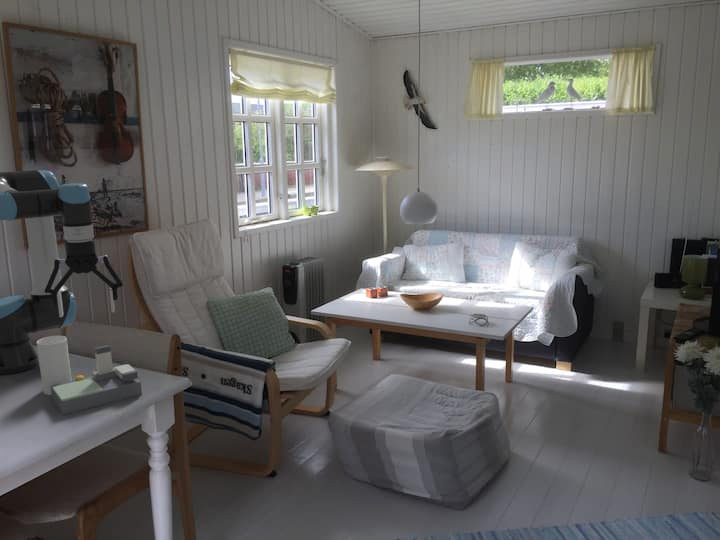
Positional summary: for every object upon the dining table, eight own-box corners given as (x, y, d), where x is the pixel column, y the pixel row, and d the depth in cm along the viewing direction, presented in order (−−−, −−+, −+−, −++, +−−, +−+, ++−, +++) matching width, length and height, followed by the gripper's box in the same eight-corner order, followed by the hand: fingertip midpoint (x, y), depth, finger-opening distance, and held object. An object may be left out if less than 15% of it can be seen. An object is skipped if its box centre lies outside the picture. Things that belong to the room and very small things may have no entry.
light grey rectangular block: (97, 372, 191) (94, 347, 189) (111, 369, 193) (108, 344, 192) (99, 374, 189) (96, 349, 188) (113, 371, 192) (110, 346, 190)
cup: (61, 395, 190) (54, 345, 186) (37, 393, 191) (30, 343, 188) (78, 385, 198) (72, 336, 194) (55, 383, 199) (48, 334, 196)
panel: (52, 398, 188) (49, 376, 186) (126, 379, 201) (124, 359, 200) (63, 414, 177) (60, 391, 176) (141, 394, 190) (139, 372, 189)
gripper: (27, 245, 168) (37, 321, 173) (127, 239, 176) (133, 312, 181) (31, 240, 175) (41, 314, 180) (127, 234, 182) (134, 305, 187)
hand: (87, 313), depth 180 cm, fingers open, 13 cm apart
